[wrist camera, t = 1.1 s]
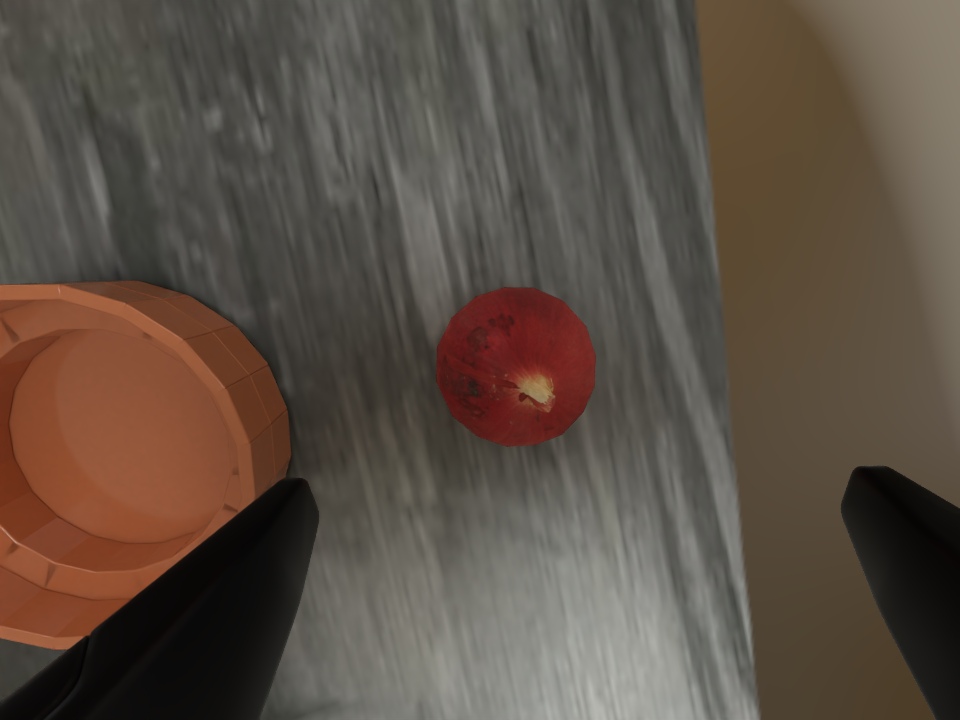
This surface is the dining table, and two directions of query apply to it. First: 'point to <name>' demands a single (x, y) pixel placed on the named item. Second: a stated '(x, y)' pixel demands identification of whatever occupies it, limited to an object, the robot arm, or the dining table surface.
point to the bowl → (120, 445)
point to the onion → (516, 366)
